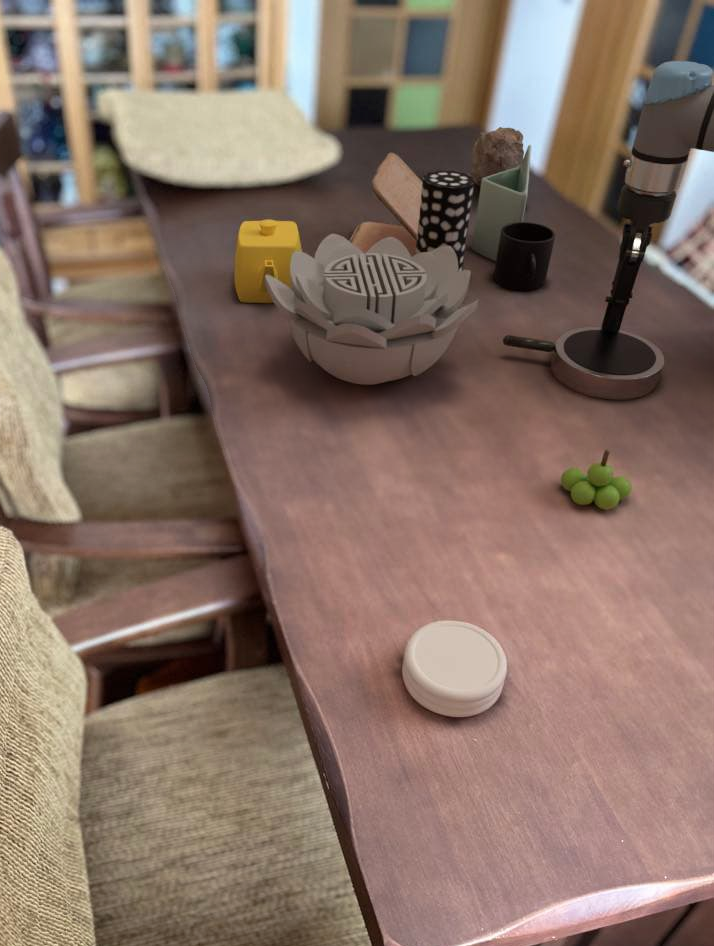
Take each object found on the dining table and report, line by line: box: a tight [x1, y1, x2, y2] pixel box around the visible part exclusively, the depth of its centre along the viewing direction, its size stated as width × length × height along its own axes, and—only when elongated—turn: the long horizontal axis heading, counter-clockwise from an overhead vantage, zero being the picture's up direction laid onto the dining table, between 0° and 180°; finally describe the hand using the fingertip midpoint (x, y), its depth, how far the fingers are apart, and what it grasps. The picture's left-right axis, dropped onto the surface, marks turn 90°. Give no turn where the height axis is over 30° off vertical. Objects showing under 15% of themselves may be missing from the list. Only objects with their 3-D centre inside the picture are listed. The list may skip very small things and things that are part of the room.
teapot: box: [233, 218, 303, 304], centre depth 144 cm, size 20×12×12 cm, turn 1°
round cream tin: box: [401, 619, 508, 718], centre depth 81 cm, size 10×10×4 cm
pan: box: [502, 326, 665, 401], centre depth 127 cm, size 24×16×4 cm, turn 73°
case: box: [348, 152, 423, 257], centre depth 155 cm, size 20×21×16 cm
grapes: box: [560, 449, 633, 511], centre depth 101 cm, size 9×5×8 cm, turn 73°
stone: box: [470, 127, 532, 188], centre depth 180 cm, size 22×10×15 cm, turn 8°
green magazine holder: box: [471, 144, 532, 263], centre depth 155 cm, size 16×8×20 cm, turn 172°
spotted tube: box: [415, 169, 475, 272], centre depth 140 cm, size 8×8×20 cm
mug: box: [493, 221, 556, 292], centre depth 148 cm, size 9×12×9 cm
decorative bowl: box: [265, 233, 479, 386], centre depth 123 cm, size 30×30×15 cm
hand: (607, 337), depth 133 cm, fingers closed
